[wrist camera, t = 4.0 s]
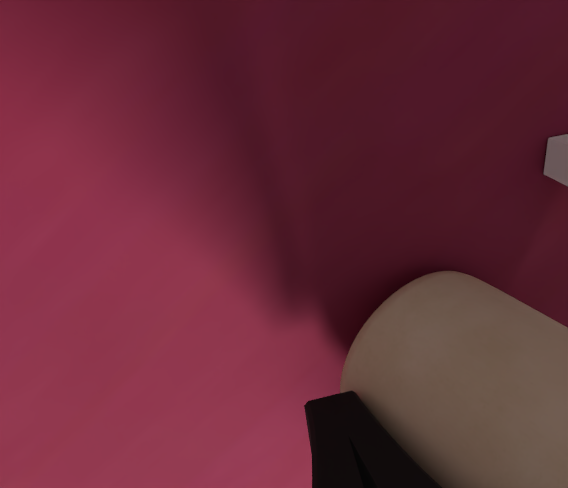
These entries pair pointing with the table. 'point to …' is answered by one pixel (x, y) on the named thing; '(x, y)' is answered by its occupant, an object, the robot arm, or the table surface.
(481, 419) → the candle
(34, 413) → the table surface
